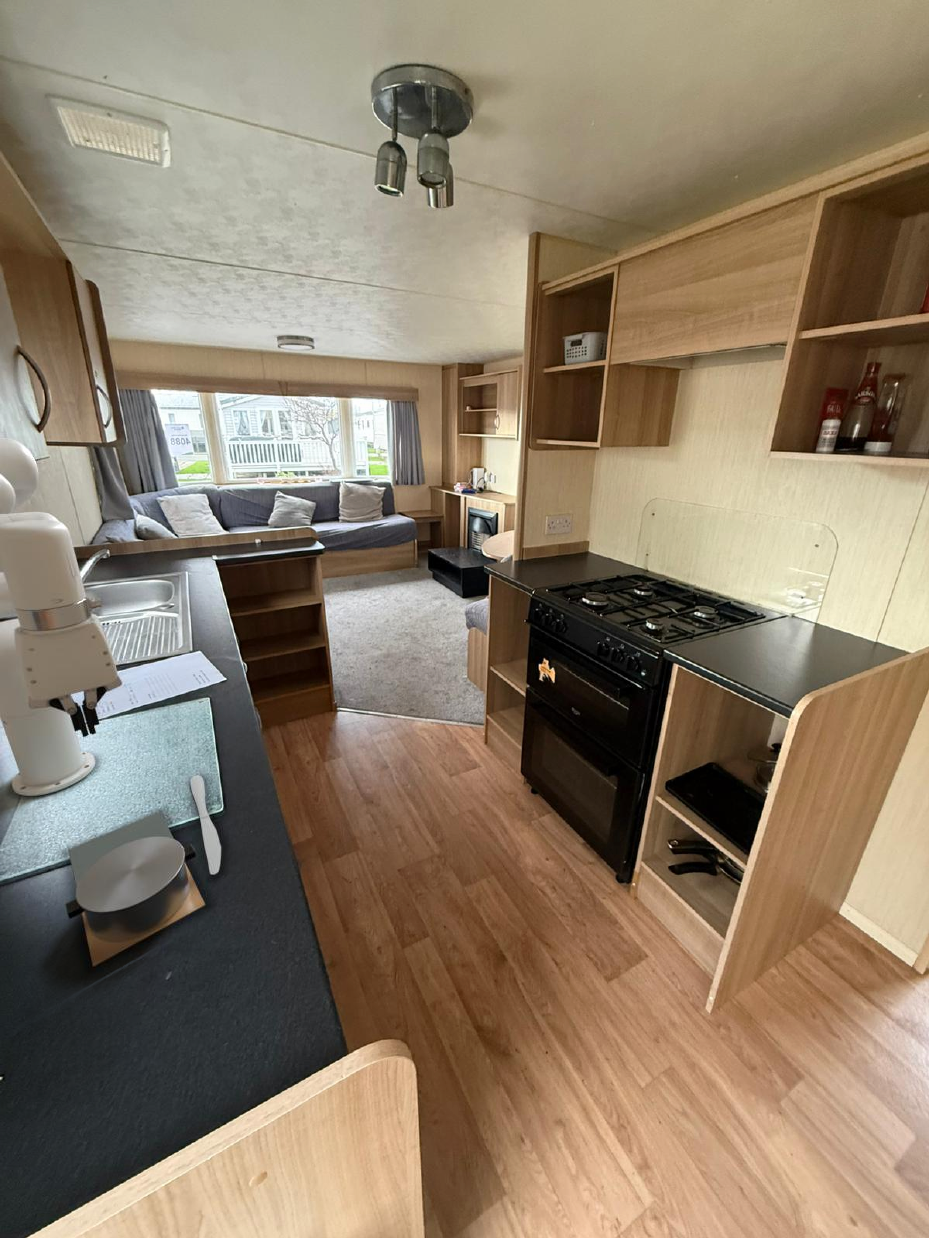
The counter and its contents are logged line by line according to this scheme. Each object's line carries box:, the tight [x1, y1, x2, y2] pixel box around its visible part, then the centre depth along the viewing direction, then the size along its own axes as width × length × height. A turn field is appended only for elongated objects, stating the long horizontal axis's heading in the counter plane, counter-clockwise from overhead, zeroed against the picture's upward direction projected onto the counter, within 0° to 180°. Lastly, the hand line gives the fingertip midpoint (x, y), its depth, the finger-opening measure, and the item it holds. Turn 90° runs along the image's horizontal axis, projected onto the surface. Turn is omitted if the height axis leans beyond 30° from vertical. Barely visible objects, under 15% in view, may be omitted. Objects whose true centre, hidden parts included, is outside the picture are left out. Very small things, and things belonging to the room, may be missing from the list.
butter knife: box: [189, 774, 222, 876], centre depth 86 cm, size 1×27×3 cm
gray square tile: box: [68, 810, 175, 889], centre depth 79 cm, size 12×13×1 cm
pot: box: [65, 837, 197, 942], centre depth 70 cm, size 13×15×6 cm
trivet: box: [81, 862, 206, 967], centre depth 70 cm, size 12×13×1 cm
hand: (88, 731), depth 74 cm, fingers closed
